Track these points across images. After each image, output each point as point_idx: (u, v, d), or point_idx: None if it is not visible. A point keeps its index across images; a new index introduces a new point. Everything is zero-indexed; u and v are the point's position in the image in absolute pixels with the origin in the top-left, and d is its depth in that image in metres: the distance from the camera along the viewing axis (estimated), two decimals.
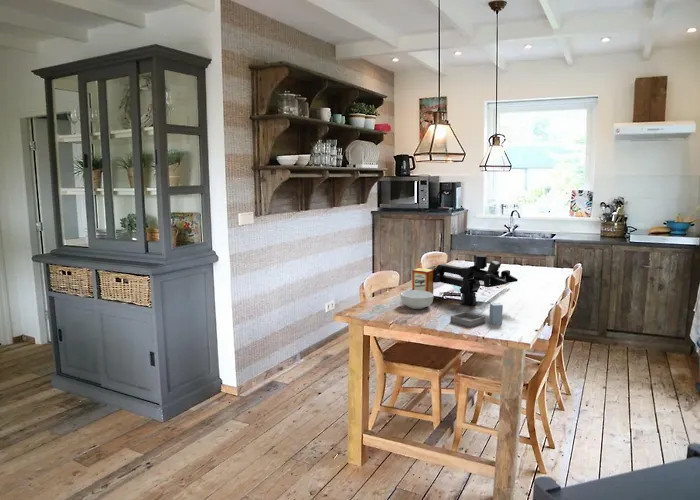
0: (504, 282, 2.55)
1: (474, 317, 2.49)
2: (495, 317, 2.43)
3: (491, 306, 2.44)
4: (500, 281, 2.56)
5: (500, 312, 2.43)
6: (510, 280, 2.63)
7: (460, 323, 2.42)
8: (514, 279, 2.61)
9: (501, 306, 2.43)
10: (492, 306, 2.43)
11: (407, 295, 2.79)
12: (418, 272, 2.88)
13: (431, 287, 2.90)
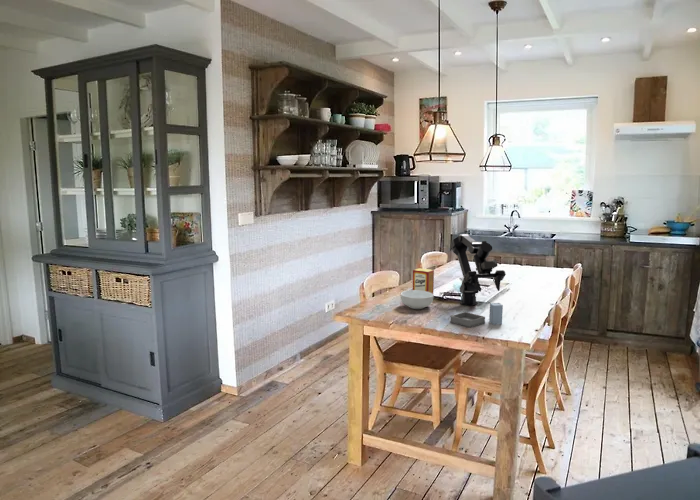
0: (479, 289, 2.51)
1: (474, 317, 2.49)
2: (495, 317, 2.43)
3: (491, 306, 2.44)
4: (477, 285, 2.52)
5: (500, 312, 2.43)
6: (496, 284, 2.55)
7: (460, 323, 2.42)
8: (497, 287, 2.53)
9: (501, 306, 2.43)
10: (492, 306, 2.43)
11: (407, 295, 2.79)
12: (418, 272, 2.88)
13: (431, 287, 2.90)
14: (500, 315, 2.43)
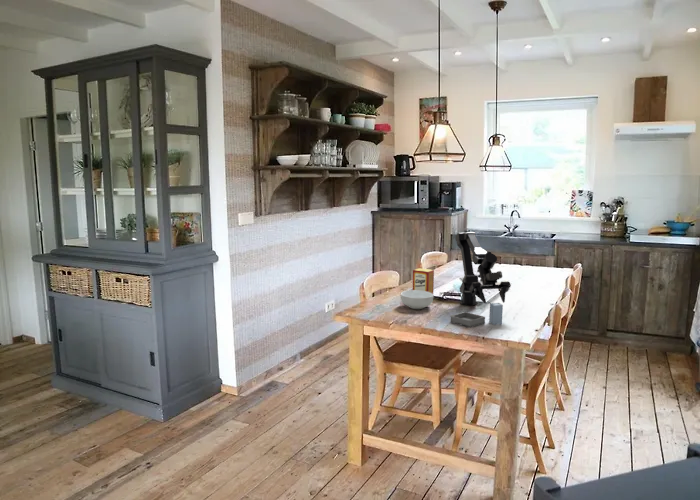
0: (483, 301, 2.46)
1: (474, 317, 2.49)
2: (495, 317, 2.43)
3: (491, 306, 2.44)
4: (481, 297, 2.47)
5: (500, 312, 2.43)
6: (501, 296, 2.50)
7: (460, 323, 2.42)
8: (502, 299, 2.48)
9: (501, 306, 2.43)
10: (492, 306, 2.43)
11: (407, 295, 2.79)
12: (418, 272, 2.88)
13: (431, 287, 2.90)
14: (500, 315, 2.43)
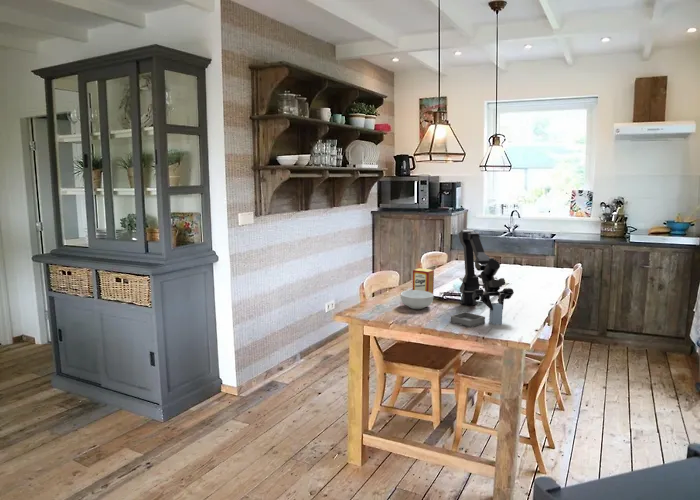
0: (490, 308, 2.43)
1: (474, 317, 2.49)
2: (495, 317, 2.43)
3: None
4: (488, 304, 2.44)
5: (500, 312, 2.43)
6: None
7: (460, 323, 2.42)
8: None
9: (501, 306, 2.43)
10: None
11: (407, 295, 2.79)
12: (418, 272, 2.88)
13: (431, 287, 2.90)
14: (500, 315, 2.43)
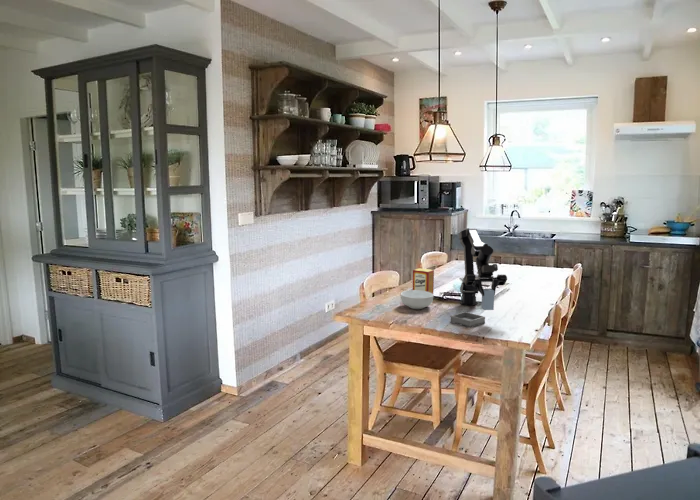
0: (482, 293, 2.42)
1: (474, 317, 2.49)
2: (486, 303, 2.42)
3: None
4: (480, 290, 2.43)
5: (491, 298, 2.41)
6: None
7: (460, 323, 2.42)
8: None
9: (492, 292, 2.41)
10: None
11: (407, 295, 2.79)
12: (418, 272, 2.88)
13: (431, 287, 2.90)
14: (491, 301, 2.42)
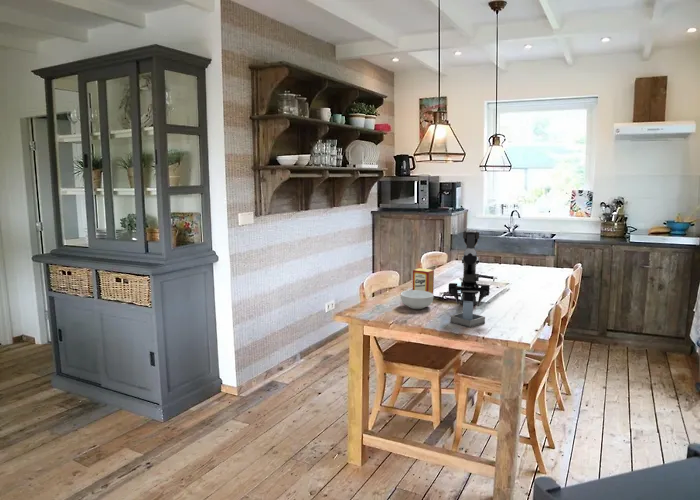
0: (457, 302, 2.45)
1: (474, 317, 2.49)
2: (465, 315, 2.44)
3: (463, 303, 2.46)
4: (456, 298, 2.46)
5: (470, 310, 2.43)
6: None
7: (460, 323, 2.42)
8: (478, 302, 2.43)
9: (471, 304, 2.42)
10: (463, 303, 2.44)
11: (407, 295, 2.79)
12: (418, 272, 2.88)
13: (431, 287, 2.90)
14: (470, 313, 2.43)
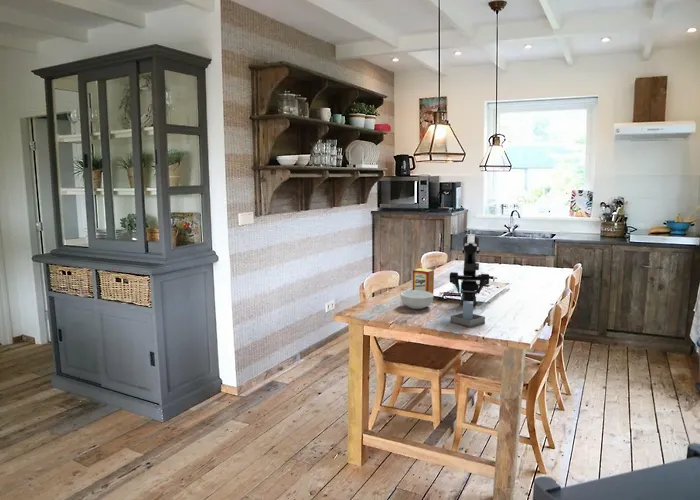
0: (457, 290, 2.53)
1: (474, 317, 2.49)
2: (465, 315, 2.44)
3: (463, 303, 2.46)
4: (456, 287, 2.54)
5: (470, 310, 2.43)
6: None
7: (460, 323, 2.42)
8: (478, 290, 2.51)
9: (471, 304, 2.42)
10: (463, 303, 2.44)
11: (407, 295, 2.79)
12: (418, 272, 2.88)
13: (431, 287, 2.90)
14: (470, 313, 2.43)
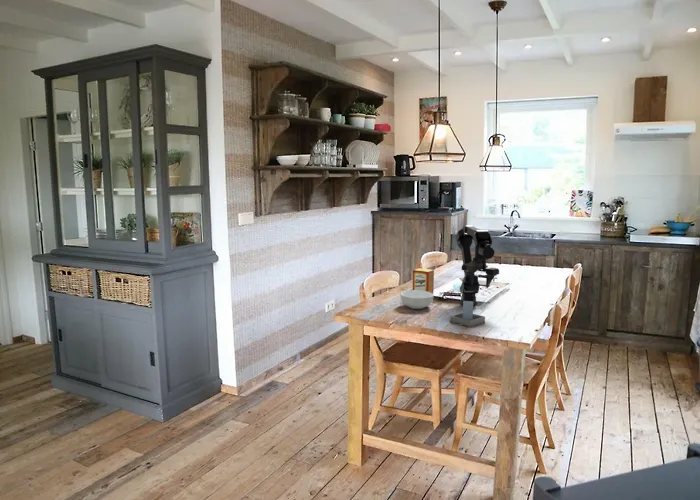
0: None
1: (474, 317, 2.49)
2: (465, 315, 2.44)
3: (463, 303, 2.46)
4: None
5: (470, 310, 2.43)
6: None
7: (460, 323, 2.42)
8: None
9: (471, 304, 2.42)
10: (463, 303, 2.44)
11: (407, 295, 2.79)
12: (418, 272, 2.88)
13: (431, 287, 2.90)
14: (470, 313, 2.43)
